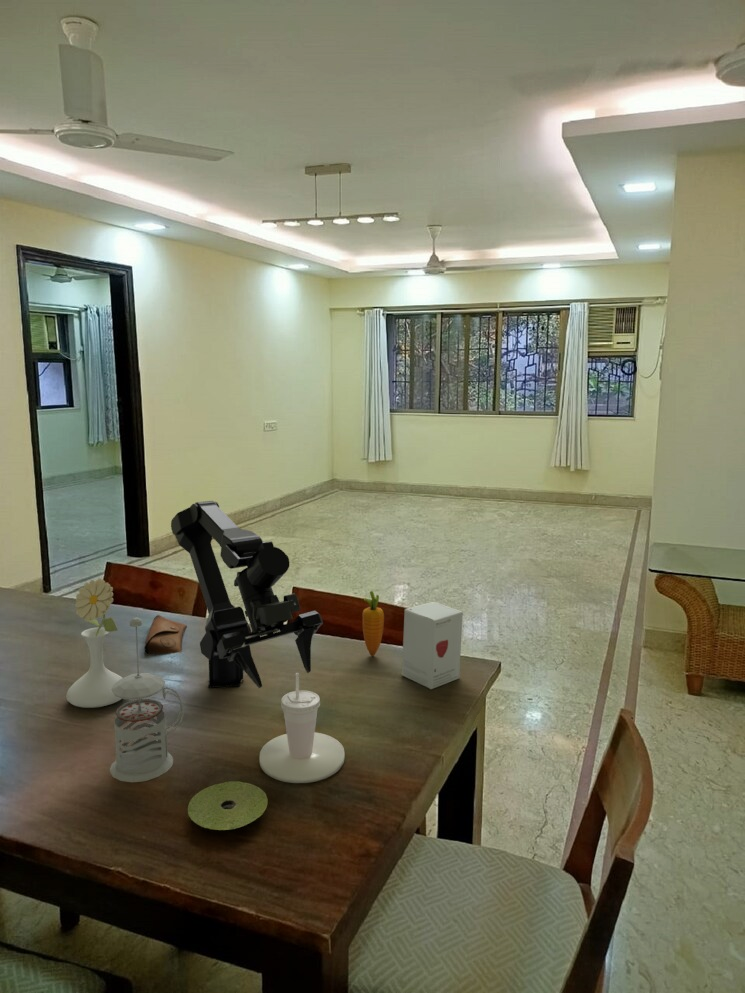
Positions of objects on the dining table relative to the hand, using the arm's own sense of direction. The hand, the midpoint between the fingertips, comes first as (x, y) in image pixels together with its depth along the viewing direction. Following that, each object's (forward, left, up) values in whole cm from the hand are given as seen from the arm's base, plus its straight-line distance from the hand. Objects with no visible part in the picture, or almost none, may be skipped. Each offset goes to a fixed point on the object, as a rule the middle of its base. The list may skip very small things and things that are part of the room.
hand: (285, 679), depth 121 cm
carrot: (+20, +32, -10) cm, 39 cm away
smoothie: (+2, -9, -9) cm, 13 cm away
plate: (+3, -9, -10) cm, 14 cm away
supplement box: (+31, +20, -10) cm, 38 cm away
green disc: (-8, -23, -10) cm, 26 cm away
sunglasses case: (-28, +46, -11) cm, 55 cm away
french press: (-22, -8, -10) cm, 26 cm away
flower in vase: (-35, +15, -10) cm, 40 cm away
